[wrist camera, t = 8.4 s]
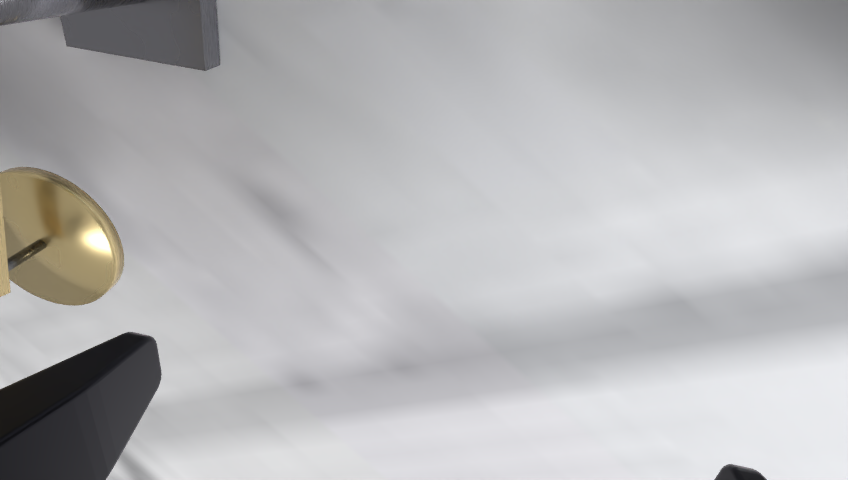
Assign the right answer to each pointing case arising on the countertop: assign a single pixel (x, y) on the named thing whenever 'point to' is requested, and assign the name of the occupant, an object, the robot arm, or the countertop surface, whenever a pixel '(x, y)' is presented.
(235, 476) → the countertop surface
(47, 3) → the balance
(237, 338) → the countertop surface
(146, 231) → the countertop surface
